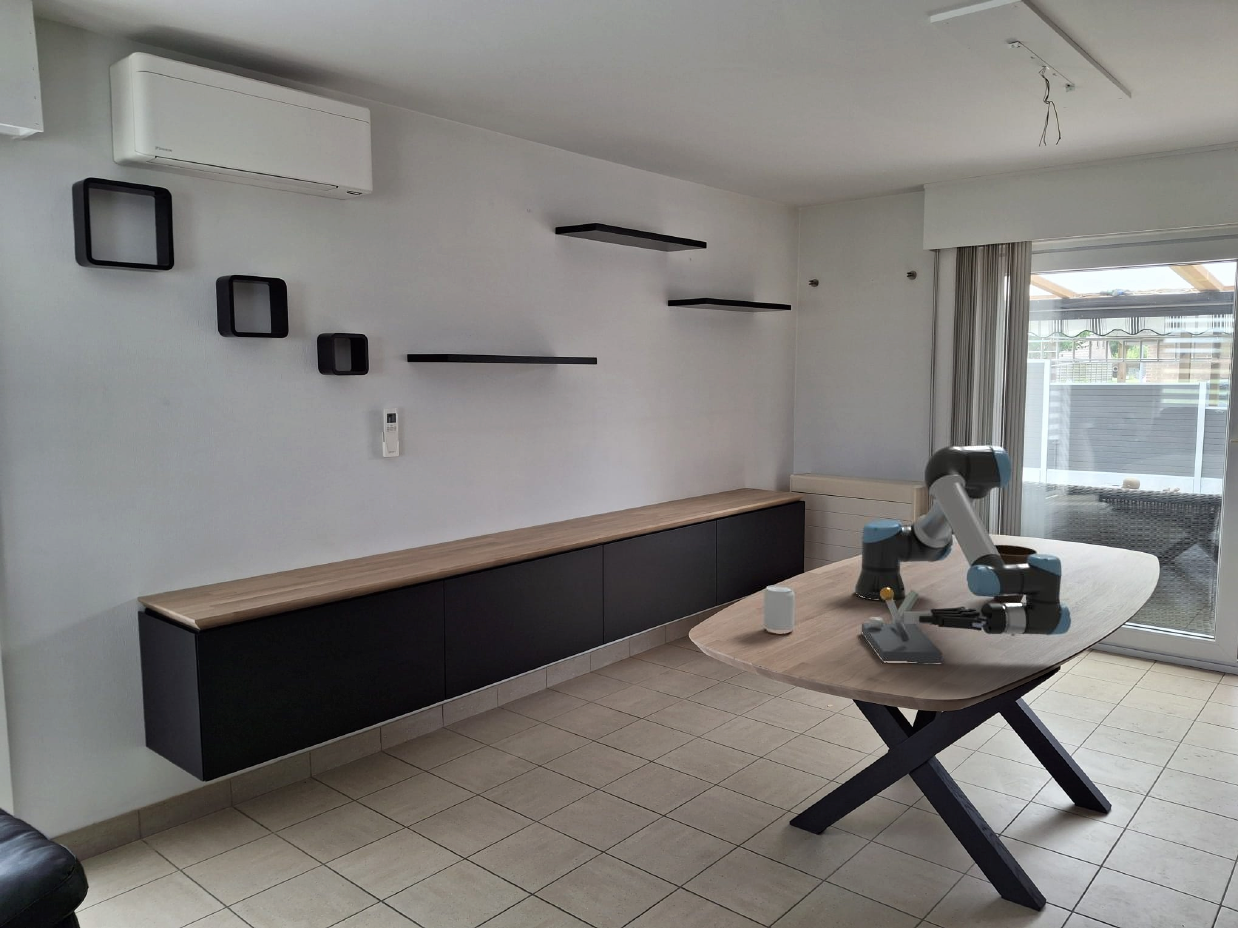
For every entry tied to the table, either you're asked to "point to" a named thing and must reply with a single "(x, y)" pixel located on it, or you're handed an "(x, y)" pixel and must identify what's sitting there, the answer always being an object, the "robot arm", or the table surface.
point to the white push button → (875, 622)
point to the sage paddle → (907, 603)
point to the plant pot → (1013, 557)
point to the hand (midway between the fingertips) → (904, 617)
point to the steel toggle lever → (894, 612)
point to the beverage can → (779, 607)
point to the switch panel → (902, 644)
